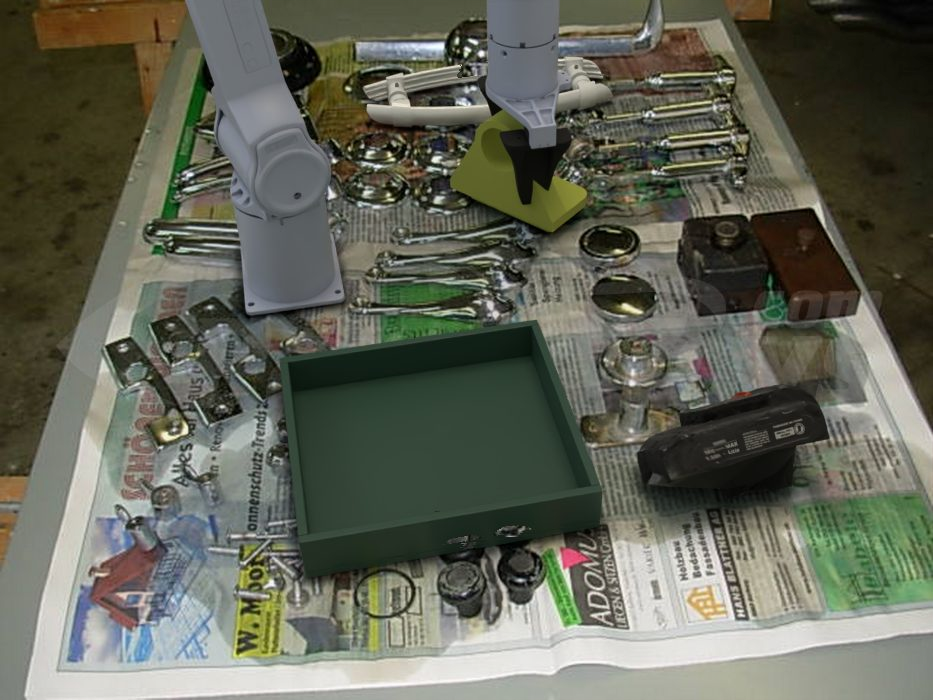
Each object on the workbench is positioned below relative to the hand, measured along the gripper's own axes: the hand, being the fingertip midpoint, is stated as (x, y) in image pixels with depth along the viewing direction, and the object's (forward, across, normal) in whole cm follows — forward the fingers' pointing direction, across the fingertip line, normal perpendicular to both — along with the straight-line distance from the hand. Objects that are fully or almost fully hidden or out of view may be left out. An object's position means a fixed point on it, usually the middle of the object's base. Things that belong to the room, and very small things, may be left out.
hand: (522, 176), depth 98 cm
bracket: (+3, 0, 0) cm, 4 cm away
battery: (+3, -34, -6) cm, 35 cm away
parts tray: (+3, -28, +13) cm, 31 cm away
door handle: (+3, +19, -1) cm, 19 cm away
